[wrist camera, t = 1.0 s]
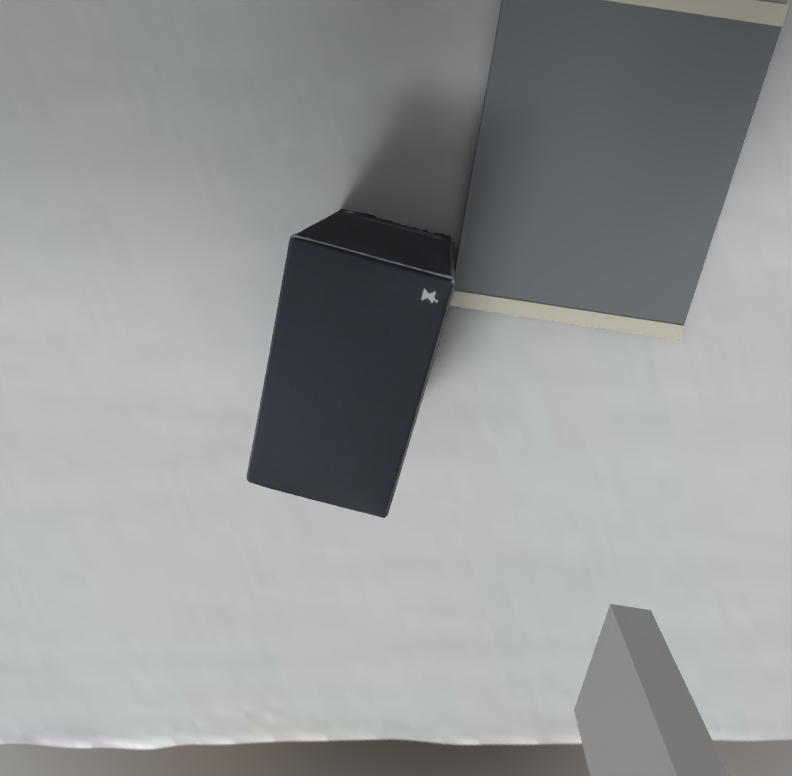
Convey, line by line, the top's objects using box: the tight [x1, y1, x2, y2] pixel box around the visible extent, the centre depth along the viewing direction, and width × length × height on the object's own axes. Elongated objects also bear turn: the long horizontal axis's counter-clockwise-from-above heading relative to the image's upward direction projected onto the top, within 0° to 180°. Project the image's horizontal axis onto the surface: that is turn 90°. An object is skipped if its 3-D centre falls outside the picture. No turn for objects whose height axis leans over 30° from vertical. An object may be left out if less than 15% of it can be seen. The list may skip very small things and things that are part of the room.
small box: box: [247, 209, 456, 518], centre depth 27 cm, size 11×6×10 cm, turn 166°
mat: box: [449, 0, 790, 341], centre depth 29 cm, size 12×15×1 cm
